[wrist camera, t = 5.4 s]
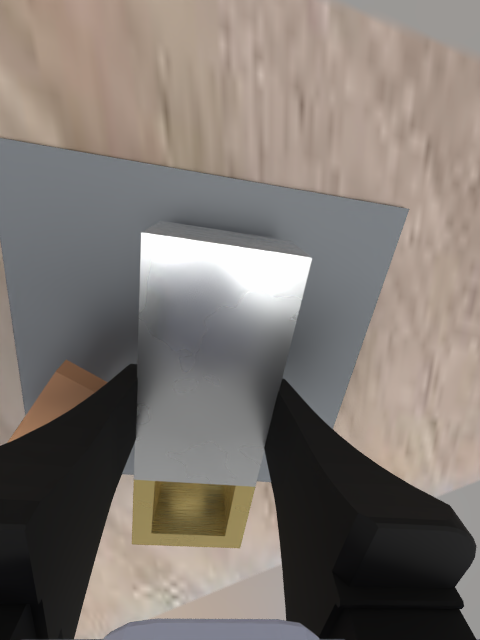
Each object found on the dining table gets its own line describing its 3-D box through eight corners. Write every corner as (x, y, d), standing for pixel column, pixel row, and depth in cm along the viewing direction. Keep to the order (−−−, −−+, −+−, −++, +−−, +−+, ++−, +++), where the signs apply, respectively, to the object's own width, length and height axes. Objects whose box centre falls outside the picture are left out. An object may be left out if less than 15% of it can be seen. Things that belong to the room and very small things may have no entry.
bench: (36, 463, 18) (2, 516, 15) (-8, 136, 12) (-82, 120, 9) (311, 478, 20) (327, 528, 17) (404, 208, 14) (454, 214, 11)
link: (236, 488, 17) (240, 547, 14) (146, 483, 16) (131, 544, 14) (290, 240, 12) (312, 257, 9) (161, 220, 11) (141, 232, 8)
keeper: (85, 422, 17) (41, 501, 13) (44, 402, 17) (-17, 477, 12) (145, 344, 16) (118, 404, 11) (102, 317, 15) (55, 371, 11)
